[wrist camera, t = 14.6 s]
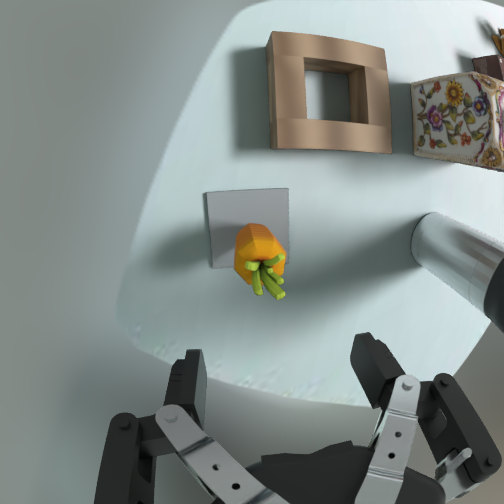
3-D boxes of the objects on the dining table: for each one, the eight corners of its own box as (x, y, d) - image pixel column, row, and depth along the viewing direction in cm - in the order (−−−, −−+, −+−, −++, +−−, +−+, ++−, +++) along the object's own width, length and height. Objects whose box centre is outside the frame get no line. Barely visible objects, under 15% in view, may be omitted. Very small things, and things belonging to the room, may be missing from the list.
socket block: (366, 58, 27) (384, 49, 22) (372, 152, 32) (391, 154, 27) (265, 46, 26) (271, 31, 22) (270, 148, 31) (277, 148, 27)
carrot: (226, 216, 33) (225, 268, 19) (264, 205, 33) (292, 247, 19) (238, 252, 35) (245, 321, 21) (274, 241, 35) (305, 303, 21)
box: (477, 86, 28) (504, 84, 21) (470, 57, 26) (496, 53, 19) (492, 92, 28) (518, 91, 21) (486, 65, 26) (511, 62, 19)
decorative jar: (410, 155, 33) (506, 172, 16) (407, 81, 28) (497, 64, 12) (459, 164, 33) (542, 184, 17) (457, 99, 29) (538, 98, 12)
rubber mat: (287, 188, 33) (288, 188, 33) (287, 261, 37) (288, 263, 36) (207, 192, 33) (206, 192, 32) (213, 266, 36) (213, 268, 36)
